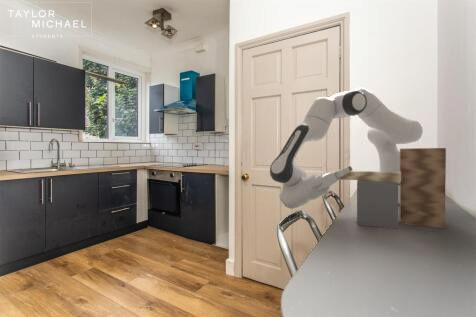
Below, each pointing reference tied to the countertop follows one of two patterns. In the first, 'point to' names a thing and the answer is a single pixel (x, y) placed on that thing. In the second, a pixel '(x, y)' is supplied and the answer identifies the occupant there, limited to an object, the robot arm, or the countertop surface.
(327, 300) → the countertop surface
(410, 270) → the countertop surface
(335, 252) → the countertop surface
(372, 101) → the robot arm
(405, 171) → the pedestal
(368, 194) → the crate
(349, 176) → the bar
